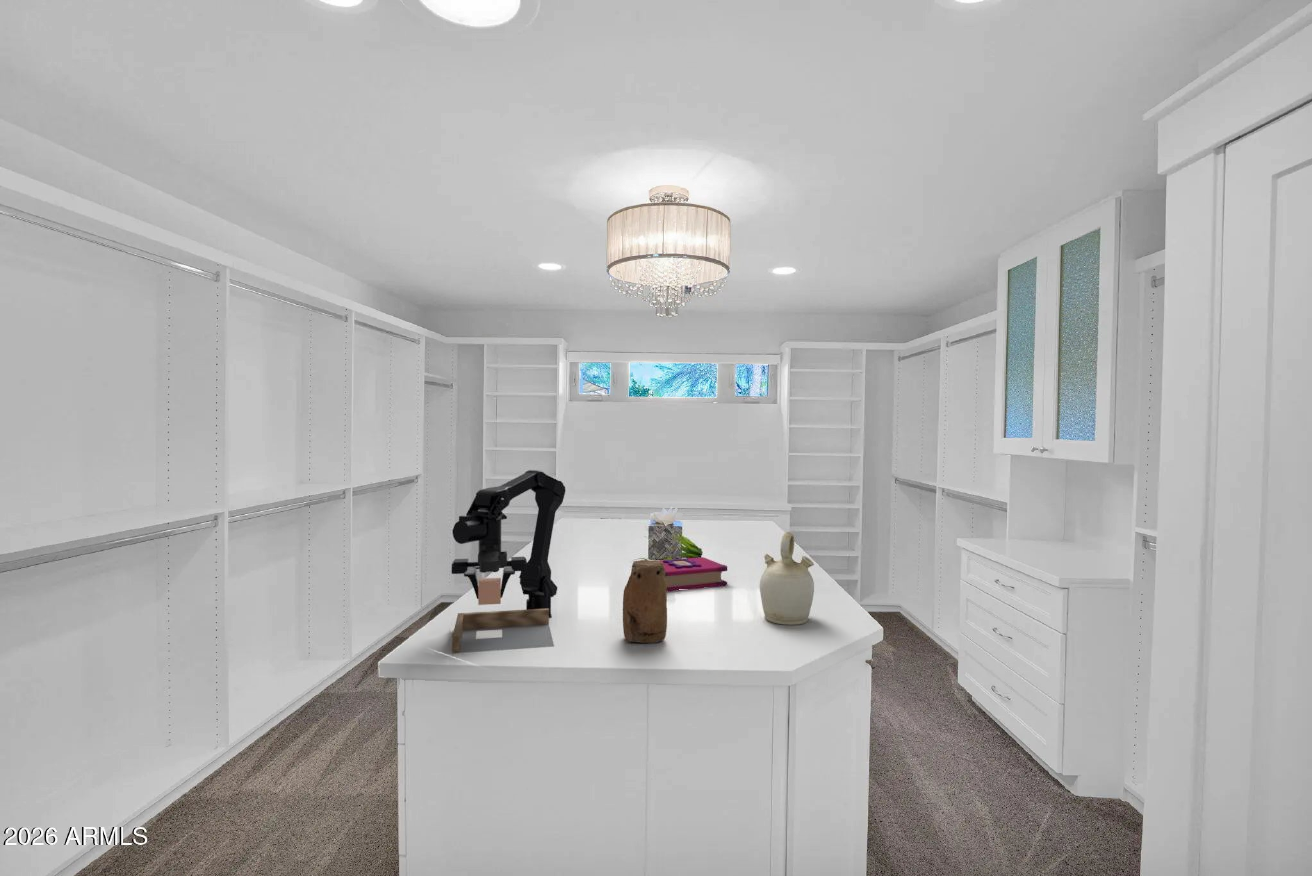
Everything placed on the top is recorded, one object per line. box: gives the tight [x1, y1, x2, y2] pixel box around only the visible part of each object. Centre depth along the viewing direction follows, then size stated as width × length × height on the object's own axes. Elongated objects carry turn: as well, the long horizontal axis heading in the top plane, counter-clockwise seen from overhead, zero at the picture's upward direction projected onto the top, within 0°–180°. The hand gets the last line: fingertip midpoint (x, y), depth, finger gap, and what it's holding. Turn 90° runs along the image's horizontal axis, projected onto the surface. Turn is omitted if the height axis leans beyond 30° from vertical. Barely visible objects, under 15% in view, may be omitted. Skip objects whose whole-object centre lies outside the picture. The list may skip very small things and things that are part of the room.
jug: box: [759, 531, 815, 626], centre depth 184 cm, size 15×16×25 cm
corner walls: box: [451, 608, 550, 654], centre depth 165 cm, size 24×20×4 cm
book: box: [659, 556, 728, 592], centre depth 228 cm, size 21×28×8 cm
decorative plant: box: [630, 526, 703, 563], centre depth 264 cm, size 18×30×15 cm, turn 89°
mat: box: [458, 623, 555, 654], centre depth 165 cm, size 24×20×1 cm
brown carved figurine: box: [622, 559, 668, 644], centre depth 164 cm, size 11×8×20 cm
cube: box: [477, 577, 502, 606], centre depth 167 cm, size 6×6×6 cm
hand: (489, 598), depth 167 cm, fingers closed on cube, 5 cm apart
